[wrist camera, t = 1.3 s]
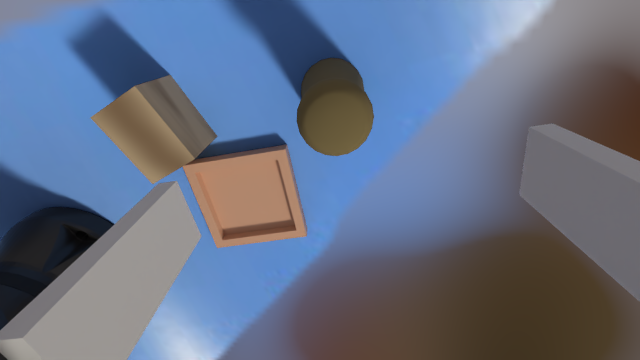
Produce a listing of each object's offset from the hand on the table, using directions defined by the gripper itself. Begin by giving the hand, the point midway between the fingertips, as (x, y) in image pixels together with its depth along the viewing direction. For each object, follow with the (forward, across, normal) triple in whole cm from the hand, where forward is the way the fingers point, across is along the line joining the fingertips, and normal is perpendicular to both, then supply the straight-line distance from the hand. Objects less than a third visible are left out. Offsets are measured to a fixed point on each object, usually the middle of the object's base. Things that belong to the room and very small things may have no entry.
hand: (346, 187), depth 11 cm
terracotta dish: (+19, -11, -10) cm, 24 cm away
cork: (+19, 0, 0) cm, 19 cm away
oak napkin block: (+19, -16, 0) cm, 25 cm away
